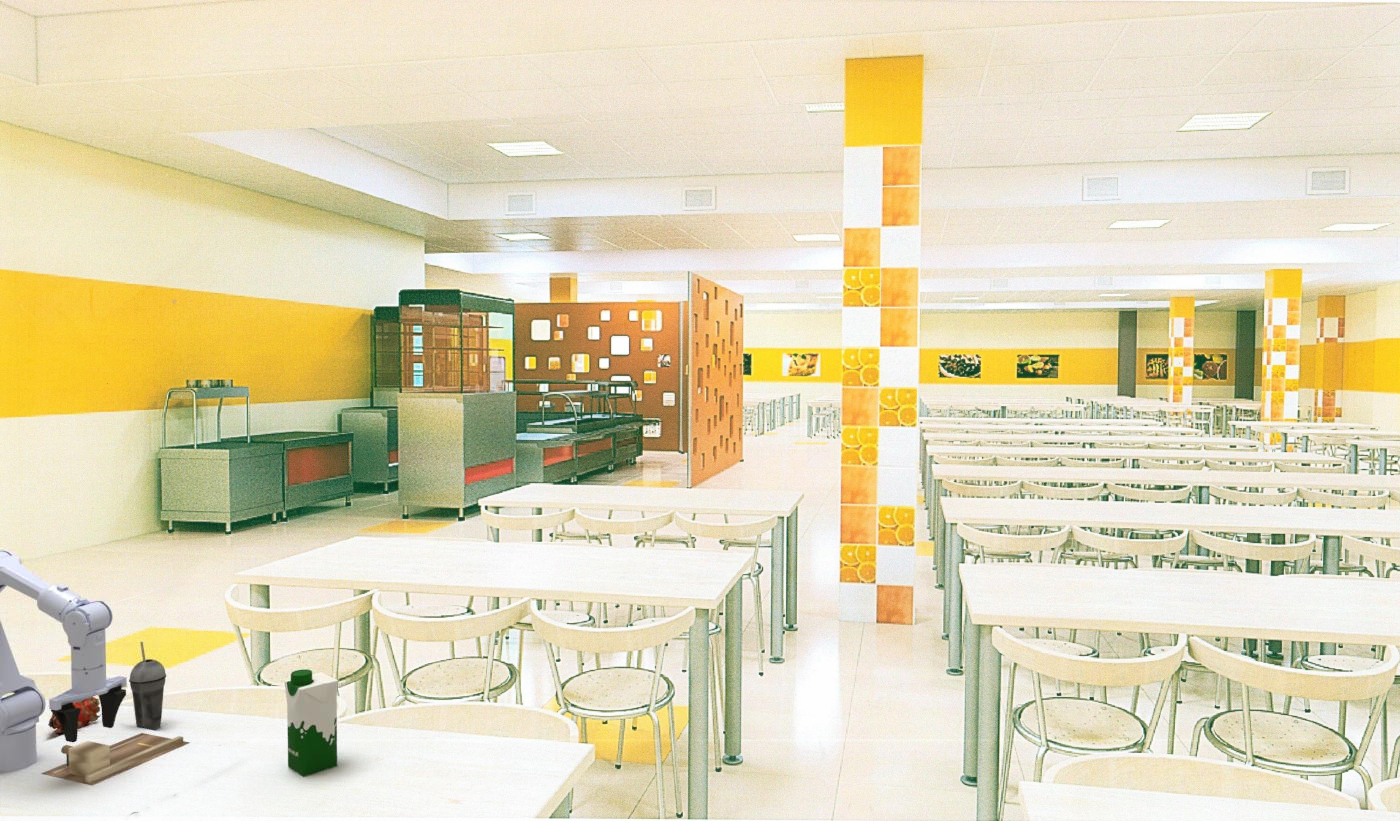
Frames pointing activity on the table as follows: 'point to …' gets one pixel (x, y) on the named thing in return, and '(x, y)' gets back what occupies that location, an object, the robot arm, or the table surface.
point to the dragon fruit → (86, 714)
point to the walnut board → (124, 757)
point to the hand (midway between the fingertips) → (90, 733)
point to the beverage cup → (148, 692)
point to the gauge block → (86, 757)
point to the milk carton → (311, 721)
